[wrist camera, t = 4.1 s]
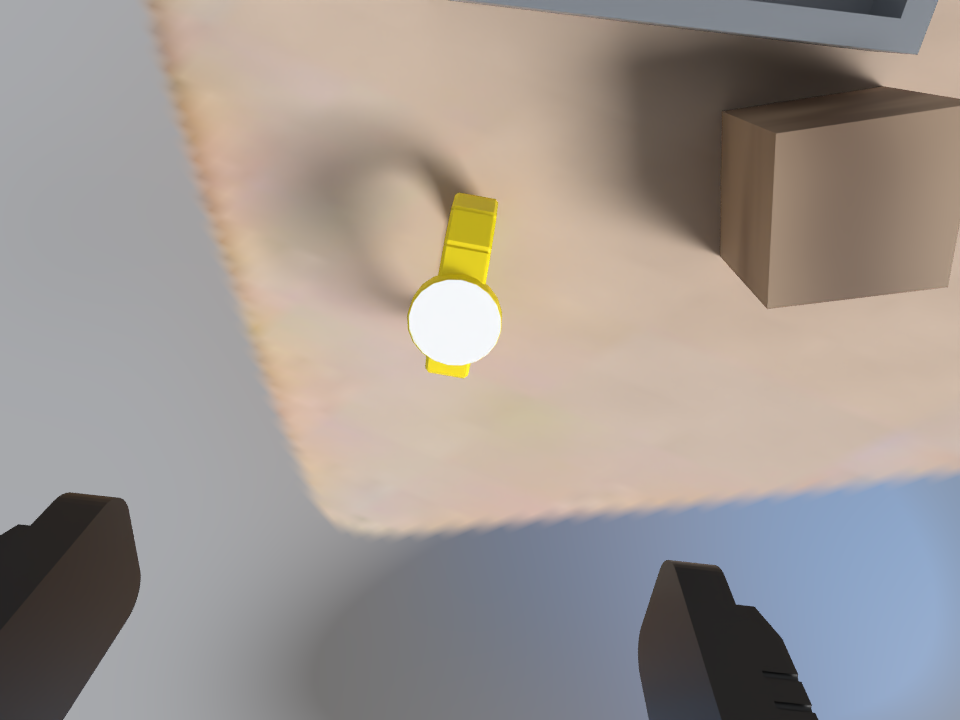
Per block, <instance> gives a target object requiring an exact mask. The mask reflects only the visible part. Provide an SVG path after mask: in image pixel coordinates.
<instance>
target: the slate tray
mask: <svg viewBox="0 0 960 720" xmlns="http://www.w3.org/2000/svg"><path fill="white" fill-rule="evenodd" d="M450 1H458V2H467V3H475V4H483V5H492V6H500V7H508V8H517V9H525V10H533V11H541V12H550V13H558V14H566V15H575V16H583V17H591V18H599V19H608V20H616V21H624V22H633V23H641V24H649V25H658V26H666V27H674V28H682V29H691V30H699V31H707V32H716V33H724V34H732V35H740V36H749V37H757V38H765V39H774V40H782V41H790V42H799V43H807V44H815V45H823V46H832V47H840V48H848V49H857V50H865V51H874V52H888V53H902V54H916V55H918V52H919V49H920V47H921V44H922V41H923V39H924V36H925V34H926V31H927V28H928V26H929V23H930V21H931V18H932V15H933V13H934V10H935V7H936V5H937V2H938V0H450Z"/></svg>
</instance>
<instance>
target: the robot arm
mask: <svg viewBox="0 0 960 720" xmlns="http://www.w3.org/2000/svg"><path fill="white" fill-rule="evenodd" d="M140 576H141V575H140V568H139V562H138V557H137V552H136V546H135V541H134V535H133V530H132V525H131V519H130V515H129V509H128V506H127V504H126V502H125V501H124V500H123V499H121V498H116V497H107V496H97V495H88V494H79V493H70V492H69V493H65V494H62V495H61V496H59V497H58V498H57V499H56V500H55V501H53V503H52V504H51V505H50V506H49V507H48V508H47V509H46V510H45V511H44V512H43V513H42V514H41V515H40V516H39V517H38V518H37V519H36V520H35V521H34V523H33V524H31V526H28V525H17V526H15V527H13V528H12V529H10V530H9V531H7V532H5V533H4V534H2V535H0V720H63V719H64V717H65V716H66V714H67V713H68V711H69V710H70V708H71V707H72V705H73V703H74V702H75V700H76V699H77V697H78V696H79V694H80V693H81V691H82V689H83V688H84V686H85V685H86V683H87V682H88V680H89V679H90V677H91V675H92V674H93V672H94V671H95V669H96V668H97V666H98V664H99V663H100V661H101V660H102V658H103V657H104V655H105V654H106V652H107V650H108V649H109V647H110V646H111V644H112V643H113V641H114V639H115V638H116V636H117V635H118V633H119V632H120V630H121V628H122V627H123V625H124V624H125V622H126V620H127V619H128V618H129V616H130V614H131V612H132V610H133V607H134V605H135V603H136V600H137V597H138V593H139V588H140V578H141V577H140ZM638 663H639V672H640V677H641V682H642V687H643V692H644V697H645V702H646V707H647V712H648V717H649V720H818V718H817V716H816V714H815V713H812V710H811V706H812V705H811V702H810V700H809V698H808V696H807V693H806V692H805V689H804V687H803V684H802V682H799V681H798V673H797V671H796V669H795V667H794V665H793V662H792V660H791V658H790V655H789V653H788V651H787V649H786V646H785V644H784V642H783V640H782V638H781V637H780V636H779V635H778V633H777V632H776V631H775V630H774V629H773V628H772V627H771V625H770V624H769V623H768V622H767V621H766V620H765V619H764V617H763V616H762V615H761V614H760V613H759V611H758V610H757V609H756V608H755V607H752V606H743V605H736V604H735V601H734V599H733V596H732V593H731V591H730V589H729V586H728V583H727V581H726V578H725V576H724V574H723V572H722V570H721V569H720V568H719V567H718V566H716V565H708V564H698V563H690V562H681V561H672V560H666V561H665V562H664V563H663V564H662V566H661V568H660V571H659V574H658V577H657V580H656V583H655V586H654V589H653V593H652V595H651V598H650V602H649V605H648V608H647V611H646V614H645V617H644V620H643V623H642V626H641V630H640V635H639V643H638Z"/></svg>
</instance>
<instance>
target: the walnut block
mask: <svg viewBox="0 0 960 720" xmlns="http://www.w3.org/2000/svg"><path fill="white" fill-rule="evenodd" d="M959 224H960V99H957V98H951V97H944V96H938V95H932V94H926V93H920V92H914V91H908V90H902V89H896V88H890V87H884V86H882V87H875V88H869V89H862V90H856V91H849V92H843V93H837V94H830V95H824V96H817V97H811V98H805V99H798V100H792V101H785V102H779V103H772V104H766V105H760V106H753V107H747V108H740V109H734V110H727V111H722V147H721V223H720V257H721V258H722V259H723V260H724V261H725V262H726V263H727V264H728V266H729V267H730V268H731V269H732V270H733V271H734V272H735V273H736V275H737V276H738V277H739V278H740V279H741V280H742V281H743V282H744V283H745V285H746V286H747V287H748V288H749V289H750V290H751V291H752V292H753V294H754V295H755V296H756V297H757V298H758V299H759V300H760V301H761V302H762V304H763V305H764V306H765V307H766V308H767V309H771V308H779V307H788V306H796V305H804V304H812V303H821V302H829V301H837V300H845V299H854V298H862V297H870V296H878V295H887V294H895V293H903V292H911V291H920V290H928V289H936V288H944V287H948V284H949V278H950V273H951V267H952V262H953V256H954V251H955V246H956V240H957V235H958V229H959Z"/></svg>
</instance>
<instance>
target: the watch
mask: <svg viewBox="0 0 960 720" xmlns="http://www.w3.org/2000/svg"><path fill="white" fill-rule="evenodd" d="M497 208H498V202H497V201H496V199H491V198H486V197H481V196H475V195H470V194H464V193H457V194H456V195H455V197H454V201H453V204H452V207H451V212H450V217H449V221H448V226H447V231H446V236H445V241H444V246H443V252H442V257H441V263H440V268H439V274H438V276H435V277H433V278H431V279H430V280H428V281H427V282H425V283H424V284H423V285H422V286H421V287H420V288H419V290H418V291H417V292H416V294H415V295H414V297H413V299H412V302H411V305H410V308H409V311H408V315H407V319H408V330H409V333H410V336H411V338H412V341H413V342H414V344H415V345H416V346H417V348H418V349H419V350H420V351H421V352H422V353H423V354H424V355H426V365H425V366H426V367H425V368H426V369H427V371H428V372H429V373H435V374H441V375H447V376H453V377H458V378H465V377H466V376H467V375H468V372H469V368H470V363H474V362H476V361H478V360H479V359H481V358H483V357H484V356H486V355H487V354H488V353H489V352H490V351H491V350H492V348H493V347H494V346H495V345H496V343H497V341H498V338H499V336H500V333H501V321H502V311H501V307H500V304H499V301H498V298H497V297H496V295H495V294H494V293H493V291H492V290H491V288H490V287H489V286H488V285H486V278H487V272H488V266H489V261H490V254H491V249H492V242H493V236H494V230H495V223H496V216H497Z"/></svg>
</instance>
